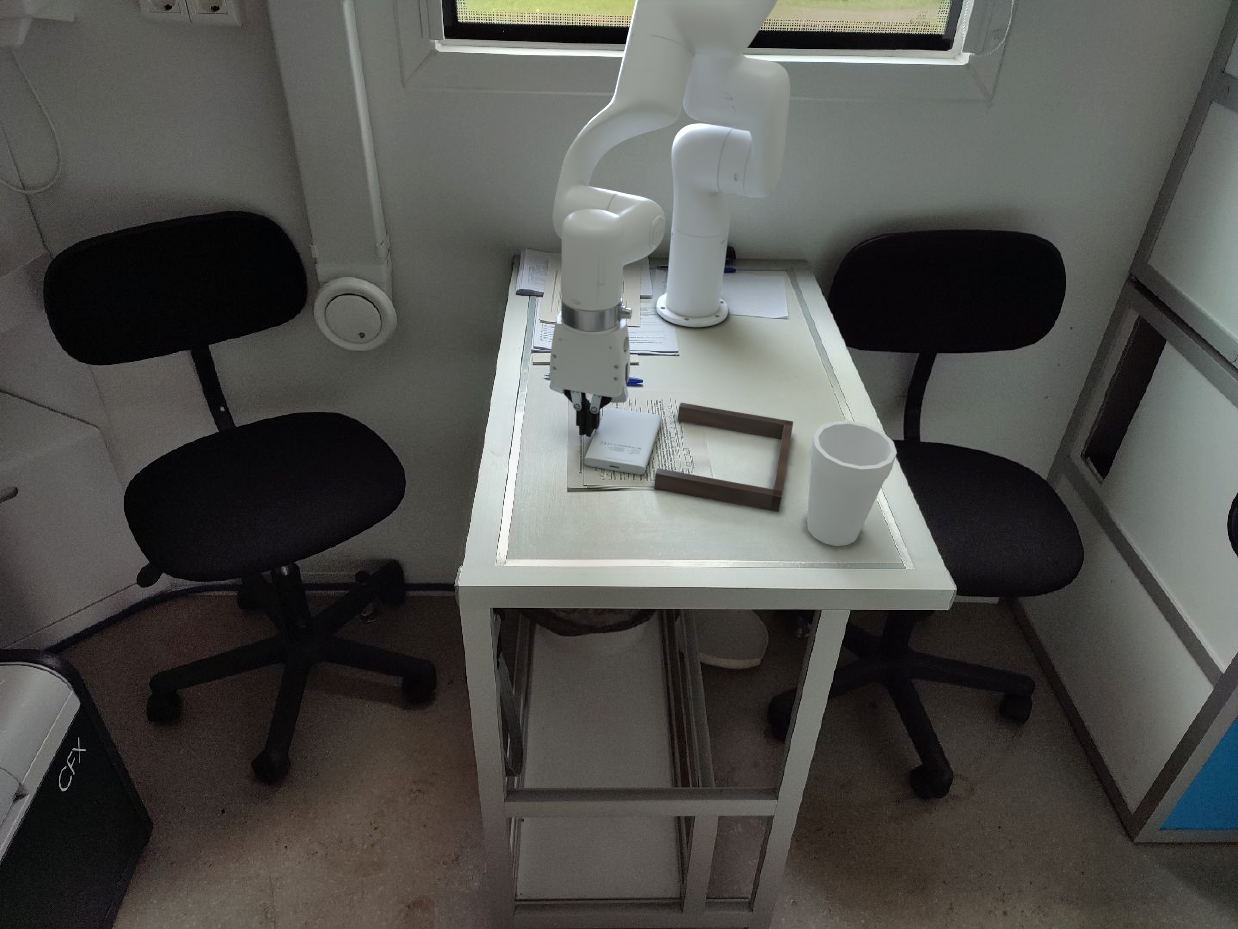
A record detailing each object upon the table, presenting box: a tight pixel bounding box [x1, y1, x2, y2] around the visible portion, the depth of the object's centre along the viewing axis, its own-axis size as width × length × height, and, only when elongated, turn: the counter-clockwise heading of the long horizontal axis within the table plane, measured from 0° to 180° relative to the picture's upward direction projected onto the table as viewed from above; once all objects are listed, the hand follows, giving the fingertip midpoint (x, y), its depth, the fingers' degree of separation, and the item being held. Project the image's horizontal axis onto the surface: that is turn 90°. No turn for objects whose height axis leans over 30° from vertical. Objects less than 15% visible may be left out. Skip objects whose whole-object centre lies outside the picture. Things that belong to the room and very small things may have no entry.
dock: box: [653, 402, 794, 512], centre depth 116 cm, size 17×16×2 cm
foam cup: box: [806, 420, 898, 547], centre depth 102 cm, size 10×9×13 cm
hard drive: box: [583, 406, 662, 476], centre depth 118 cm, size 2×8×12 cm
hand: (587, 430), depth 119 cm, fingers closed
